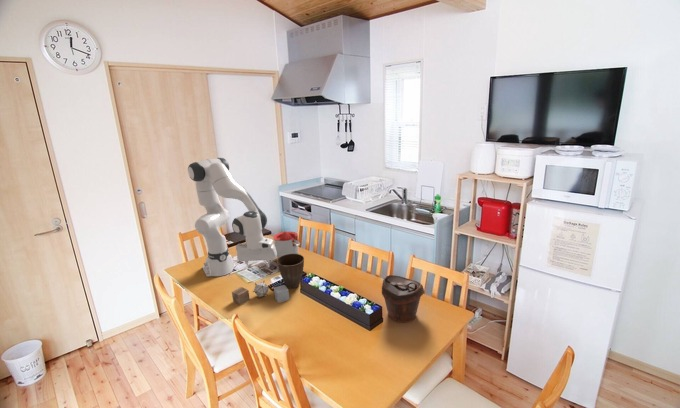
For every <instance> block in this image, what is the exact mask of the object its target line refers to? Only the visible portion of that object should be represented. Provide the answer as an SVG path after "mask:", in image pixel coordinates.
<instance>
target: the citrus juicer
mask: <svg viewBox="0 0 680 408" xmlns="http://www.w3.org/2000/svg"><path fill="white" fill-rule="evenodd" d="M298 236H299V235H298V233H297V232H296V231H282V232H278V233H276V234H274V235H273V237H272V238H273V244H274V245H275V248H276V251H277V257H276V258H277V259H278V258H279V257H281V256H283V255H286V254H299V246H300V245H301V242H300V241H299V238H298Z"/></svg>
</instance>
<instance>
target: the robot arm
mask: <svg viewBox="0 0 680 408" xmlns="http://www.w3.org/2000/svg"><path fill="white" fill-rule="evenodd" d="M187 174H188V176H189V178H190V179H191V180H192V181H193V182H195V190H196V193H197V199H198V203H199V205H200V206H202V207H204V209H205V210H206V213H205V214H203V215H201V216H200V217H199V218H198V219H197V220H195V223H194V228H195V229H194V230H196V232H197V233H198V234H200V235H202V236H203V237H204V239H205V242H206V246H207V258H205V260H204V262H203V266H202V270H203V272H204V275H205V276H206V277H222V276H225V275H228V274H230V273H231V272H233V271H234V269H235V268H236V266H237V265H236V264H235V263H234V260H233V257H232V255H231V254H230V251H229V248H228V244H227V239H226V236H225V235H224V234H223V233H221V231H220V228H222V226H224V225H226V224H227V223H228V221H229V220H230V219H231V218H230V217H231V215H230V212H229V210H228V209H227V208H225V207H224V206H223V205H222V203H221V201H220V198H219V197H222V198H224V199H235V200H238V201H241V202H242V203H243V205H244V206H245V207H246V209H247V211H246V212H244V213H242V215H240V216H237V217H235V218H233V220H232V223H231V227H232V230H233V232H234V233H235V234H237V235H238V236H245V243H238V244H237V245H236V244H235V245H236V246H235V251H236V258H237V259H236V260H237V261H238V262H244V264H246V266H247V268H248V269H252V268H253V266H252V263H250V262H255V261H256V262H257V261H267V262H266V263H265V268H270V262H271V261H274V260H277V258H278V257H277V251H276V248H275V244H274V239H272V238H270V237H269V238H268V237H265V236H264V234H263V231H262V230H264V228H265V227H266V226H267V224H268V217H267V215H266V214H265V212H264V211H262V210H261V208H260V207H259V206H258V204H257V203H256V202H255V200H254V199H253V197H252V196H251V194H250V193H249V191H247V189H246V188H245V187H244V186H242V185H240V184H238V182H236V181H235V179H234V177H233V175H232V174H231V172H230V165H229V162H228V161H227V159H225V158H223V157H217V158H207V159H203V160H199V161H195V162H192V163H190V164H189V165H188V167H187Z"/></svg>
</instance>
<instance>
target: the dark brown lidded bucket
mask: <svg viewBox="0 0 680 408" xmlns="http://www.w3.org/2000/svg"><path fill="white" fill-rule="evenodd" d="M424 294H425V289H424V286H423V284H422V283H420V282H419V281H417V280H414V279H410V278H406V277H405V276H404V277H403V276H401V275H400V276H399V275H392V274H390V275H389V274H388V275H385V277H383V280H382V285H381V295H382V297H383V299H384V302H385V307H386V310H387V315H388V317H389V318H390V319H392V320H393V321H394V322H398V323H408V322H411V321H413V320H415V318H416V317H417V312H418V308H419V305H420V301H421V297H423V295H424Z"/></svg>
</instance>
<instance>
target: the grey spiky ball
mask: <svg viewBox="0 0 680 408" xmlns="http://www.w3.org/2000/svg"><path fill="white" fill-rule="evenodd" d="M270 288H271V286H270V287H269V286H268V285H267V284H266V282H265V281H261V282H259V283H256V282H255V283H254V288H253V289H254V290H252V293H255V295H256V296H257V297H258V298H257V299H258V300H259V299H260V298H261V297H264V296H269V294H268V292H269V290H270Z"/></svg>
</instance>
